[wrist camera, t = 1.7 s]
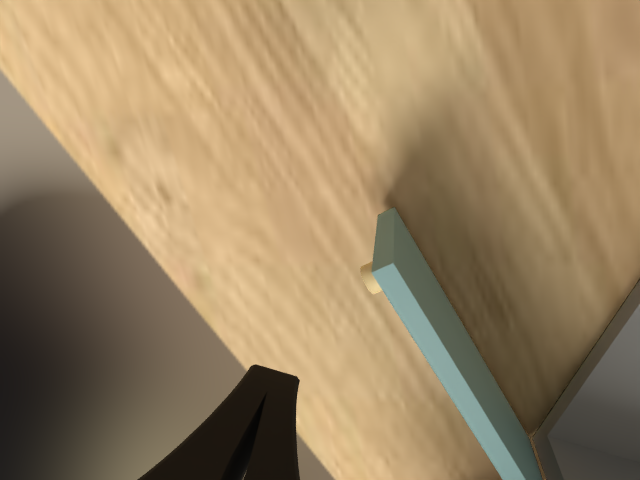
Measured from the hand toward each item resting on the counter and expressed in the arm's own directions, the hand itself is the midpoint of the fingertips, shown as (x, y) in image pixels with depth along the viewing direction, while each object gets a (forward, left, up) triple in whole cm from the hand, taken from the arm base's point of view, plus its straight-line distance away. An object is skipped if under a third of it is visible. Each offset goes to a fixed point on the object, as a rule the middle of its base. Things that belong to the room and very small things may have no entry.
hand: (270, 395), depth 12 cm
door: (-3, -7, -9) cm, 12 cm away
